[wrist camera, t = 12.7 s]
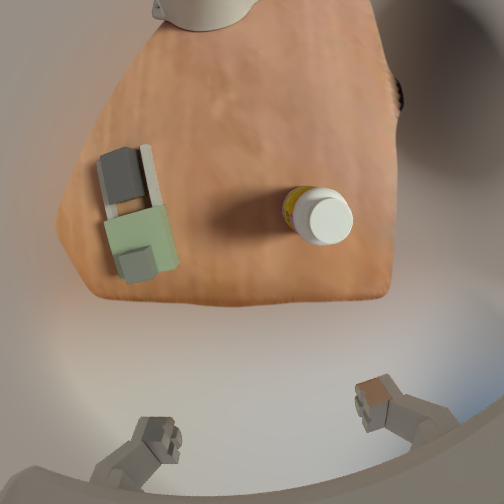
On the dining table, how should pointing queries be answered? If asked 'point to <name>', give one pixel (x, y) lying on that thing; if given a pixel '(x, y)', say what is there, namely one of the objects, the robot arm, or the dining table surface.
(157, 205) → the two-prong power plug
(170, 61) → the dining table surface
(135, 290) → the dining table surface
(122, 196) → the grey rectangular block
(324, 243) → the supplement bottle
